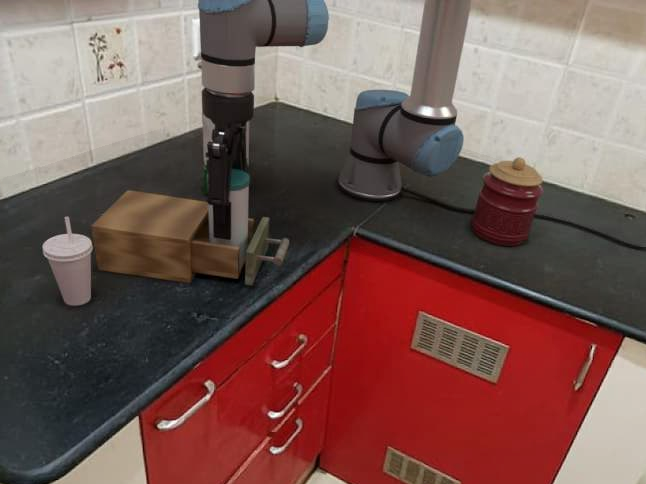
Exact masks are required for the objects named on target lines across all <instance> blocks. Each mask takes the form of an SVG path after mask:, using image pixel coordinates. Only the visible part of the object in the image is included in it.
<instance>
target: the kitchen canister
mask: <svg viewBox="0 0 646 484" xmlns="http://www.w3.org/2000/svg"><path fill="white" fill-rule="evenodd" d="M488 170H489V172H485V173H484V175H483V176H482V182H483V184H482V187H481V188H480V189H479V191H478V197H477V200H476V204H475V207H474V209H475V212H474V213H472V216H471V225H470V227H471V230H472V231H473V233H474V234H475V235H476V236H477V237H479V238H481V239H483V240H484V241H487V242H489V243H492V244H495V245H499V246H506V247H512V246H513V247H514V246H520V245H521V244H523V243H525V242H526V240H527V239H528V237H529V235H530V232H531V227H532V223H533V221H534V218H535V217H534V215H535V213H536V212H537V209H538V208H539V198H540V197H541V196H543V194H544V188H543V187H542V185H541V184H543V177H542V176H541V174H540V173H538V170H537V169H536V168H534V167H532V166H531V165H529V164H526V160H525V159H524V158H523V157H516V158H514V160H502V161H499V162H497V163H493V164H491V165H489V168H488ZM521 241H522V242H521Z"/></svg>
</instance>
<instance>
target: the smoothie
mask: <svg viewBox="0 0 646 484" xmlns="http://www.w3.org/2000/svg"><path fill="white" fill-rule="evenodd" d="M64 223H65V228H66V233H62V234H58V235H55V236H52V237H50V238H48V239H47V240H45V241H44V242H43V244H42V255H43V256H44V257H45V258H46V259H47V261H48V263H49V266H50V268H51V271H52V274H53V276H54V279H55V281H56V284H57V286H58V289H59V291H60V294H61V297H62V299H63V302H64V303H65V304H66V305H68V306H72V307H73V306H74V307H75V306H82V305H85V304H87V303H88V302H90V300H91V299H92V257H91V256H92V254H91V253H92V251H93V249H94V247H93V246H94V245H93V243H92V239H91V238H89V237H88V236H86V235H84V234H80V233H73V232H72V226H71V222H70V216H64Z"/></svg>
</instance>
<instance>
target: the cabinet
mask: <svg viewBox="0 0 646 484" xmlns="http://www.w3.org/2000/svg"><path fill="white" fill-rule="evenodd" d="M208 215H209V209H208V203H207V201H203V200H196V199H189V198H184V197H183V198H182V197H177V196H169V195H164V194H156V193H150V192H144V191H137V190H130V189H127V190H126V192H124V194H122V195H121V196H120V197H119V198H118V199H117V200H116V201H115V202H114V203H113V204H112V205H111V206H110V207H109V208H108V209H107V210H106V211H105V212H104V213H103V214H101V216H100V217H99V218H98V219H96V221H94V223H92V225H91V226H90V228H91V234H92V240H93V246H94V247H93V248H94V252H95V253H94V254H95V258H96V260H95V261H96V265H97V270H98V271H104V272H112V273H118V274H124V275H131V276H138V277H145V278H152V279H159V280H166V281H173V282H179V283H187V284H191V283H192V281H193V280H194V278H195V276H196V275H197V273H195V272H191V250H190V242H191V240H192V239H193V237H194V236H195V234H196V233H197V231H198V230H199V228H200V227H201V225H202V224H203V222H204V221H205V219H206V218H207V216H208Z"/></svg>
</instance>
